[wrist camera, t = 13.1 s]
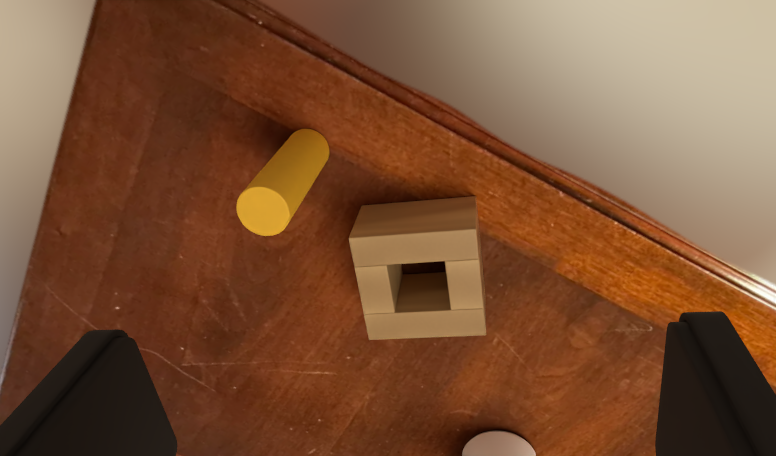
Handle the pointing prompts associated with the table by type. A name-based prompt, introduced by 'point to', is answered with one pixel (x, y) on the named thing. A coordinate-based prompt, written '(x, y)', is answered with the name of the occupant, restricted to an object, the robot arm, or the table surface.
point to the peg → (283, 183)
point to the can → (498, 445)
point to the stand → (426, 290)
